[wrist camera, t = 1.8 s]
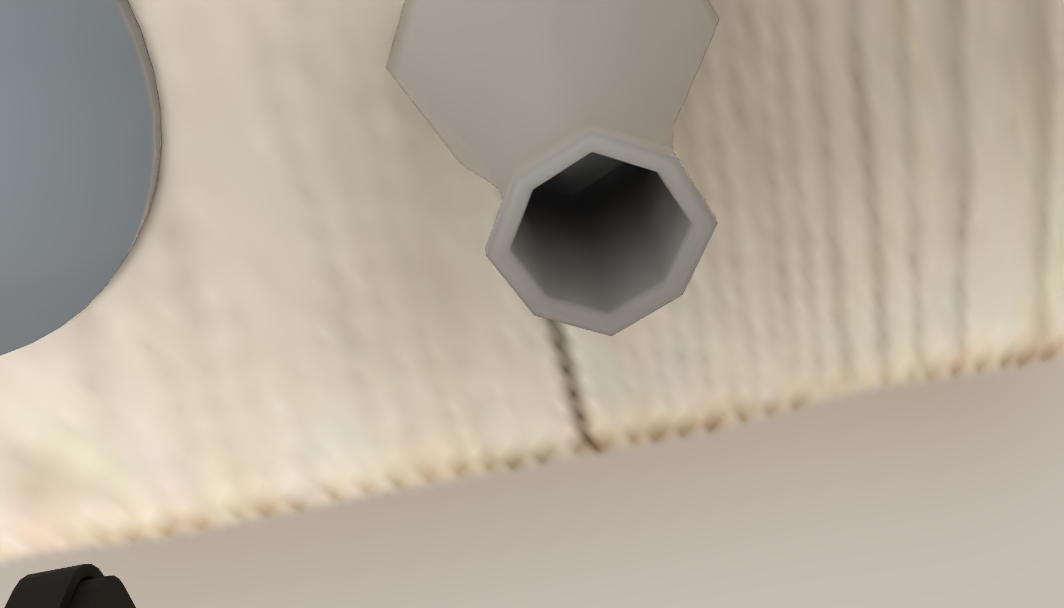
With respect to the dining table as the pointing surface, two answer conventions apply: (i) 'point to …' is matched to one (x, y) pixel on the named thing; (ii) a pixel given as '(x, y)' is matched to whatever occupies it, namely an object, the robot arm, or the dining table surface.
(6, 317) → the slate dish
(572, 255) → the flask
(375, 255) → the dining table surface
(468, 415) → the dining table surface
